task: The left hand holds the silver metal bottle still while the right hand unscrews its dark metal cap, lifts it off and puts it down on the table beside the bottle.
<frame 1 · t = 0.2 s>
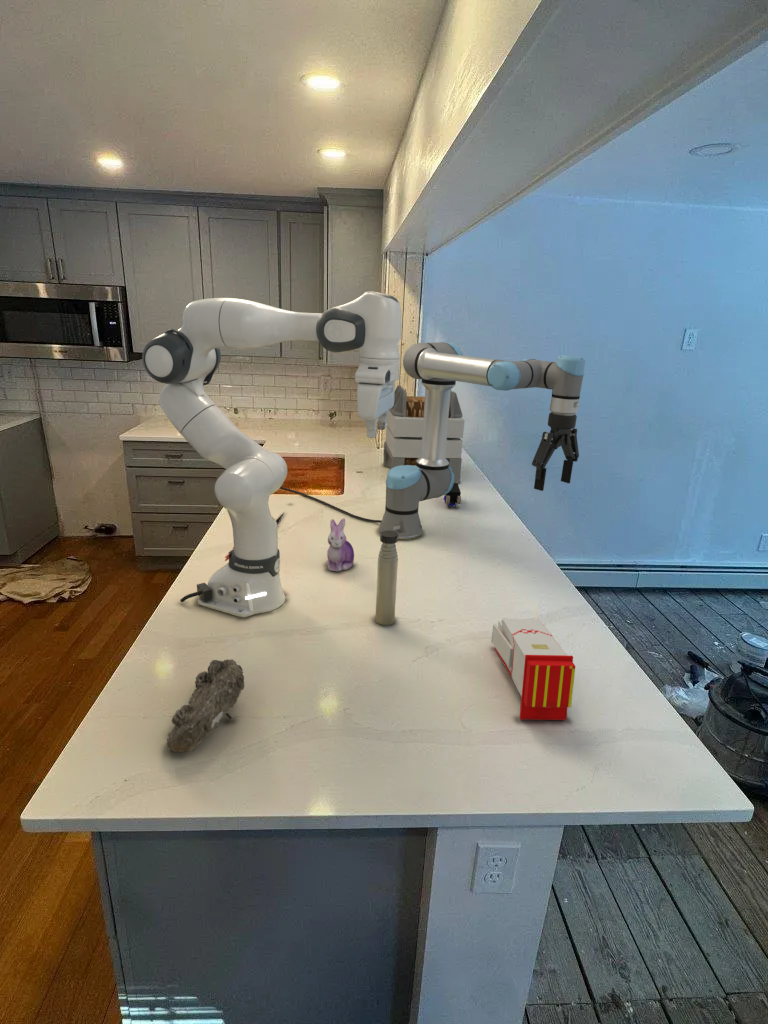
left hand: (376, 433, 129), 48 cm above the counter, tool pointing down, fingers open, 8 cm apart
right hand: (552, 485, 166), 28 cm above the counter, tool pointing down, fingers open, 13 cm apart
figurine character: (450, 504, 233), on the counter
feather: (282, 516, 211), on the counter
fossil: (212, 717, 108), on the counter
cap: (389, 534, 136), point 24 cm above the counter, screwed on, not yet turned
figurine: (340, 566, 173), on the counter
white wooden crate: (419, 473, 275), on the counter
toy: (524, 678, 124), on the counter
bottle: (384, 620, 144), on the counter
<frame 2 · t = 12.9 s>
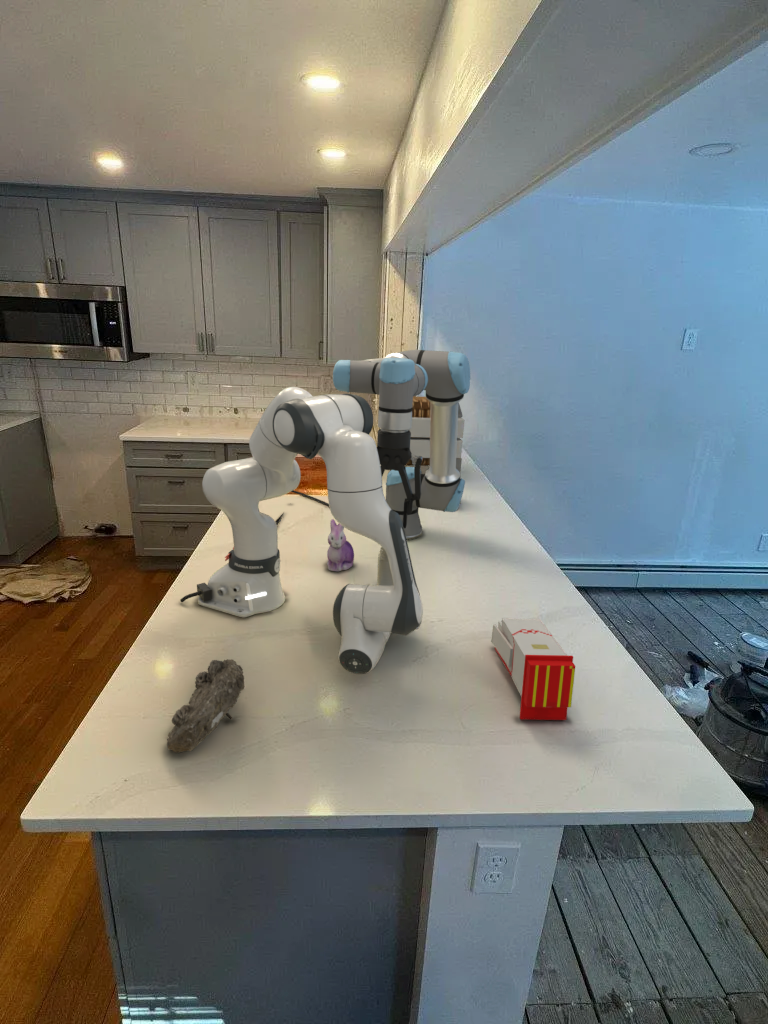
left hand: (386, 596, 143), 6 cm above the counter, tool horizontal, fingers closed on bottle, 5 cm apart
right hand: (389, 524, 135), 26 cm above the counter, tool pointing down, fingers open, 6 cm apart
bottle: (384, 620, 144), on the counter, touching left hand
everything else where it was.
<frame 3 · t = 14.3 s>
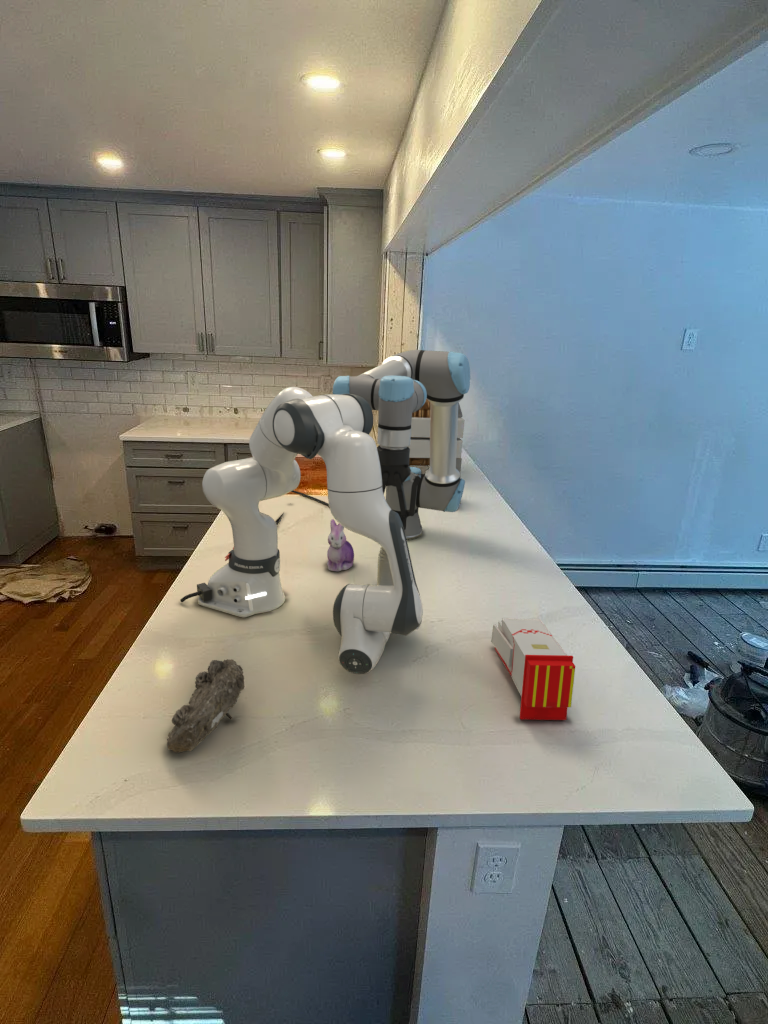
left hand: (386, 596, 143), 6 cm above the counter, tool horizontal, fingers closed on bottle, 5 cm apart
right hand: (388, 540, 137), 22 cm above the counter, tool pointing down, fingers closed on cap, 4 cm apart
cap: (389, 534, 136), point 24 cm above the counter, screwed on, not yet turned, touching right hand
bottle: (384, 620, 144), on the counter, touching left hand
everything else where it was.
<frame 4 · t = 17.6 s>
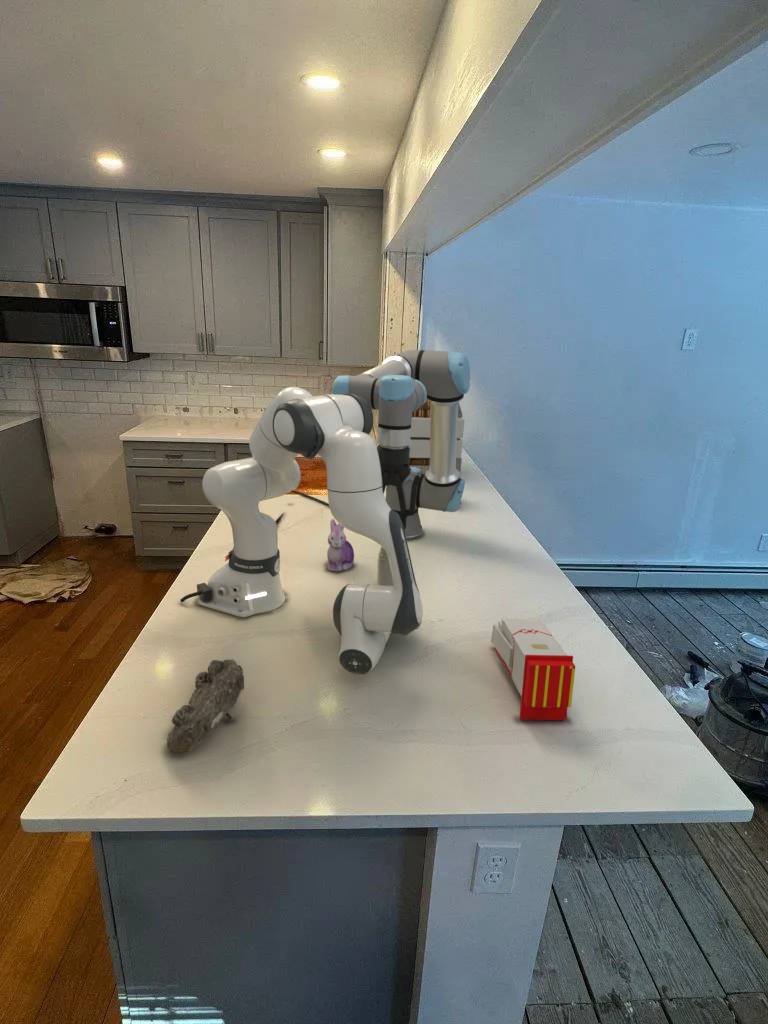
left hand: (386, 596, 143), 6 cm above the counter, tool horizontal, fingers closed on bottle, 5 cm apart
right hand: (388, 540, 137), 22 cm above the counter, tool pointing down, fingers closed on cap, 4 cm apart
cap: (389, 534, 136), point 24 cm above the counter, turned 111° so far, risen 0.1 cm, still on its thread, touching right hand
bottle: (384, 620, 144), on the counter, touching left hand
everything else where it was.
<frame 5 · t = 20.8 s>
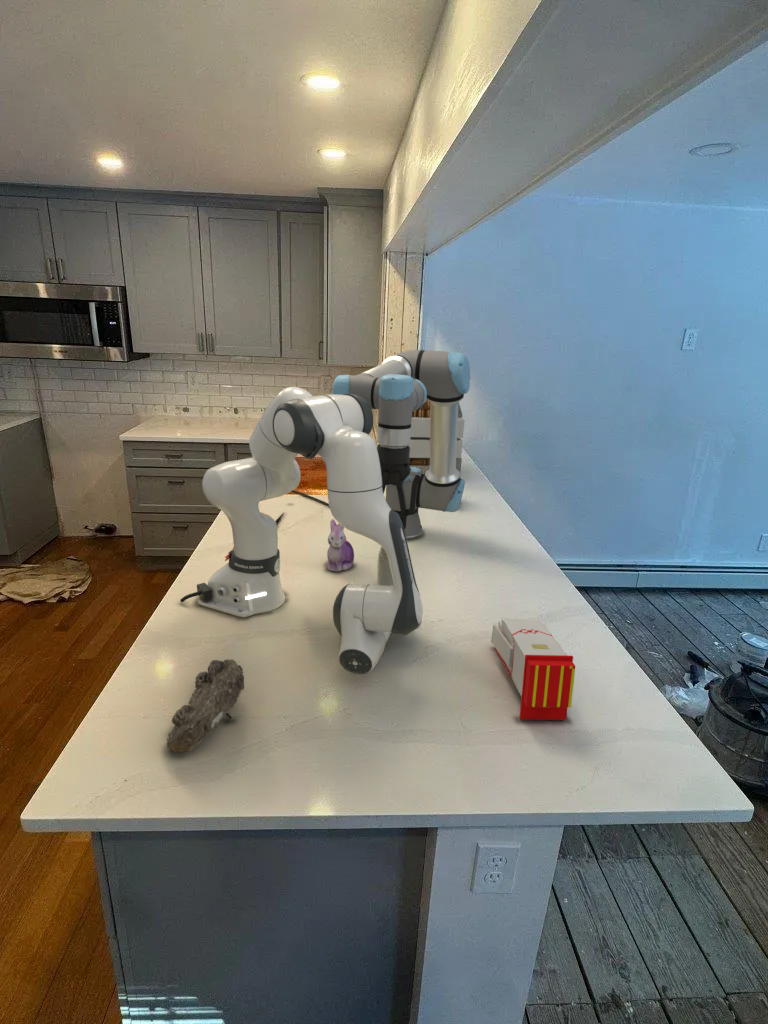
left hand: (386, 596, 143), 6 cm above the counter, tool horizontal, fingers closed on bottle, 5 cm apart
right hand: (388, 539, 137), 22 cm above the counter, tool pointing down, fingers closed on cap, 4 cm apart
cap: (389, 533, 136), point 24 cm above the counter, turned 221° so far, risen 0.2 cm, still on its thread, touching right hand
bottle: (384, 620, 144), on the counter, touching left hand
everything else where it was.
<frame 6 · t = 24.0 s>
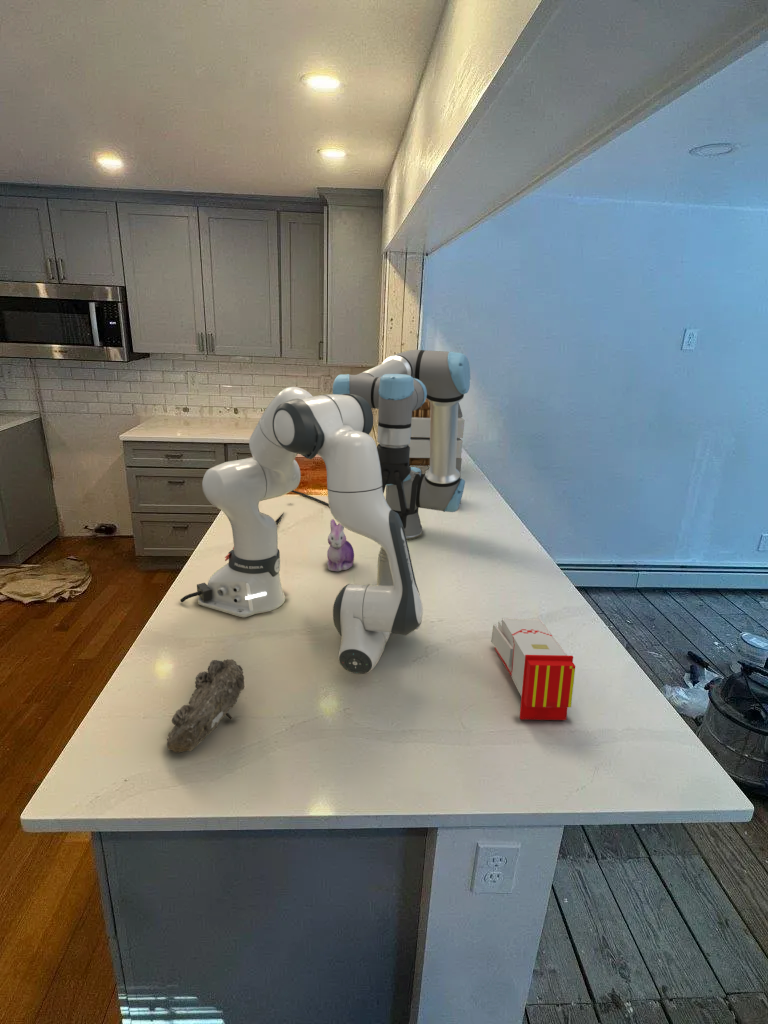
left hand: (386, 596, 143), 6 cm above the counter, tool horizontal, fingers closed on bottle, 5 cm apart
right hand: (388, 539, 137), 22 cm above the counter, tool pointing down, fingers closed on cap, 4 cm apart
cap: (389, 533, 136), point 24 cm above the counter, turned 332° so far, risen 0.4 cm, still on its thread, touching right hand
bottle: (384, 620, 144), on the counter, touching left hand
everything else where it was.
when the right hand's fingers open (1 cm above the counter, at t = 32.1 s): cap stays where it is, point 1 cm above the counter.
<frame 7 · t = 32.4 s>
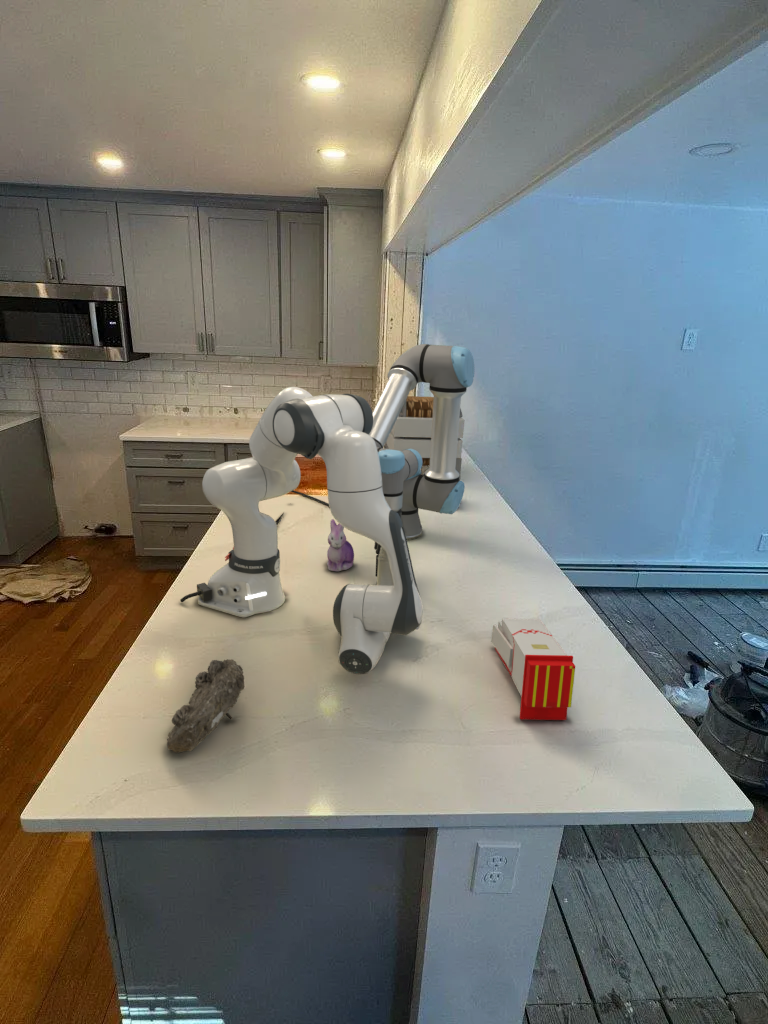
left hand: (386, 596, 143), 6 cm above the counter, tool horizontal, fingers closed on bottle, 5 cm apart
right hand: (384, 583, 160), 2 cm above the counter, tool pointing down, fingers open, 9 cm apart
cap: (384, 583, 160), point 1 cm above the counter, off its thread
bottle: (384, 620, 144), on the counter, touching left hand
everything else where it was.
when the left hand's fingers open (6 cm above the counter, at t = 33.4 s): bottle stays where it is, on the counter.
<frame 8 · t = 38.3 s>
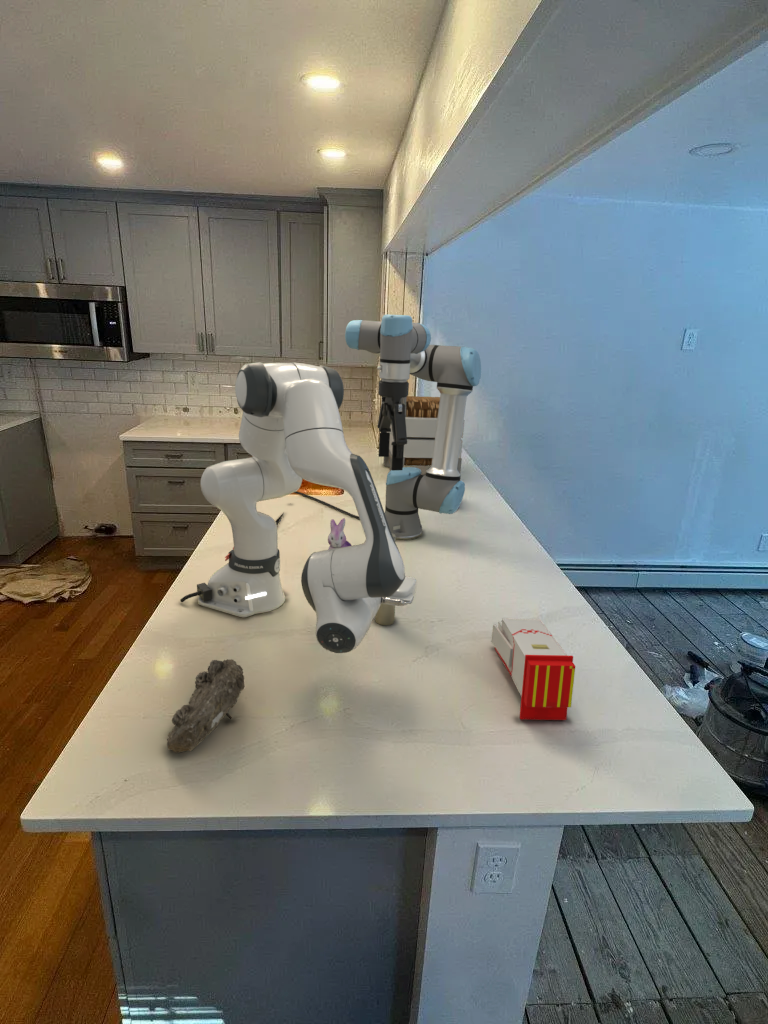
left hand: (375, 568, 125), 20 cm above the counter, tool horizontal, fingers open, 8 cm apart
right hand: (390, 463, 148), 37 cm above the counter, tool pointing down, fingers open, 13 cm apart
bottle: (384, 620, 144), on the counter
everything else where it was.
at the end: cap came off its thread; cap point 1.5 cm above the counter; the left hand is holding nothing; the right hand is holding nothing; bottle tilted 0°; bottle moved 0.0 cm from its start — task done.
